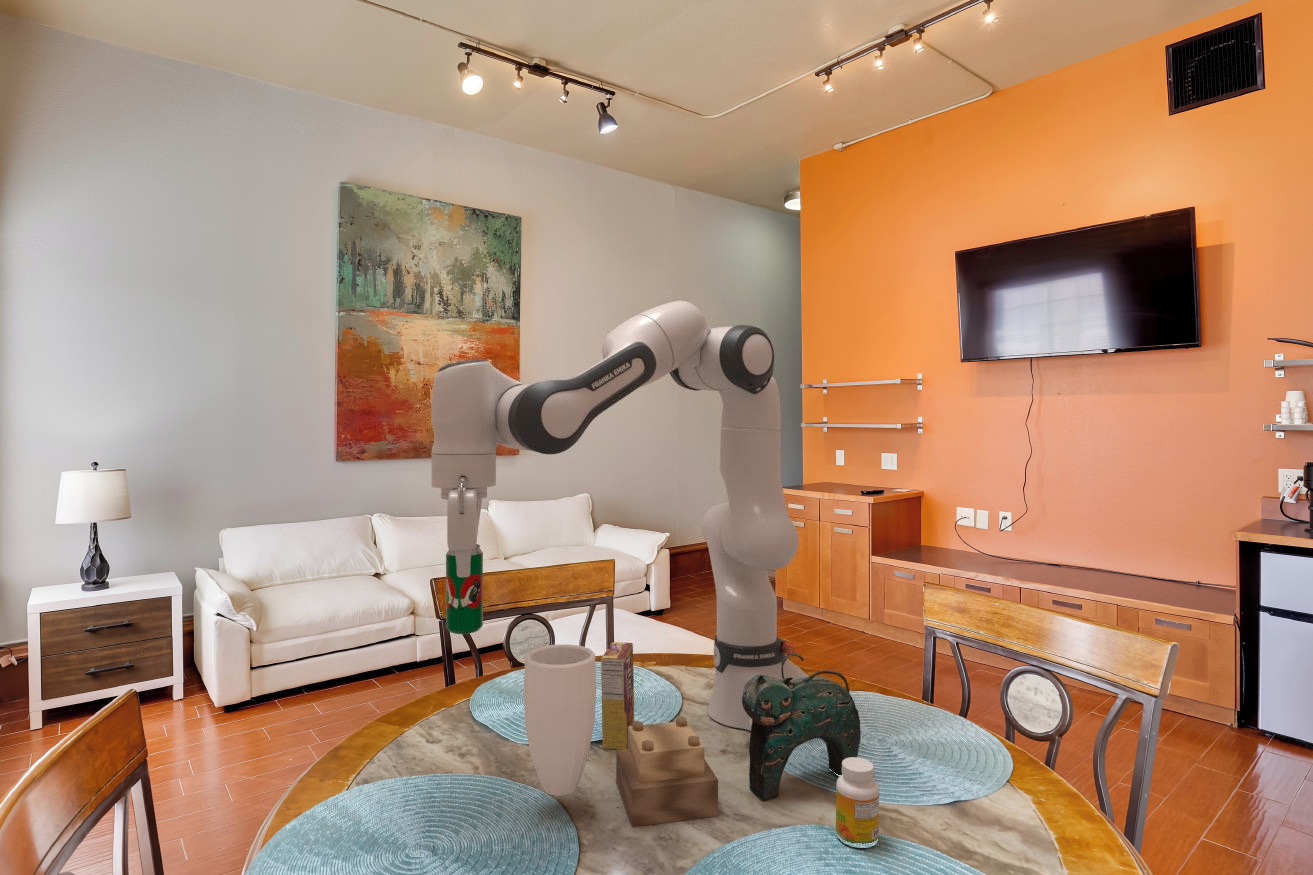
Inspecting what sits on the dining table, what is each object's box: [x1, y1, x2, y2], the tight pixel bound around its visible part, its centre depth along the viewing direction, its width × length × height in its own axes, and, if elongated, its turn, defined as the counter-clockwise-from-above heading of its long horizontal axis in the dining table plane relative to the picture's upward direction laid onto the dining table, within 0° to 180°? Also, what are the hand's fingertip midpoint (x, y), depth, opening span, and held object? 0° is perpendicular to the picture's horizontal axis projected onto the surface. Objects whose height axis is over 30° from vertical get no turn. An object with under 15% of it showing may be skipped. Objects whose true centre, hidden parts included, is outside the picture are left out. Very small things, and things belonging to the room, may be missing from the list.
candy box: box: [600, 641, 636, 750], centre depth 122 cm, size 9×4×15 cm, turn 172°
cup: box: [523, 643, 597, 796], centre depth 99 cm, size 10×10×22 cm
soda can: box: [445, 543, 484, 635], centre depth 101 cm, size 5×5×12 cm
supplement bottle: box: [835, 756, 880, 844], centre depth 92 cm, size 5×5×10 cm
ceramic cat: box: [742, 652, 862, 802], centre depth 107 cm, size 20×6×20 cm, turn 115°
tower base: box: [615, 716, 719, 828], centre depth 102 cm, size 12×12×10 cm
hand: (464, 571), depth 101 cm, fingers closed on soda can, 5 cm apart
